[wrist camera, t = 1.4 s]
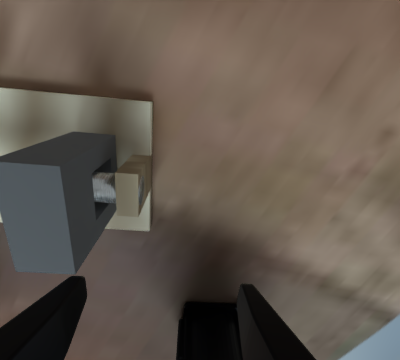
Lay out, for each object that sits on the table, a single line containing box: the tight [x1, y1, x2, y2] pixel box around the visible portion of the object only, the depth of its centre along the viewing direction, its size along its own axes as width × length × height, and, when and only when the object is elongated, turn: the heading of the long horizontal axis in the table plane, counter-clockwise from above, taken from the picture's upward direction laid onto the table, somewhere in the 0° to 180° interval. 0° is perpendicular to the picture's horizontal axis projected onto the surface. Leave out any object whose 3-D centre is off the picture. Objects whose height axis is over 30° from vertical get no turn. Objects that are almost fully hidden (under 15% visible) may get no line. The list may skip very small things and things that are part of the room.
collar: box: [0, 131, 117, 274], centre depth 14 cm, size 3×6×7 cm, turn 175°
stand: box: [0, 87, 153, 231], centre depth 16 cm, size 18×11×5 cm, turn 85°
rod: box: [92, 172, 144, 205], centre depth 15 cm, size 18×2×2 cm, turn 85°
